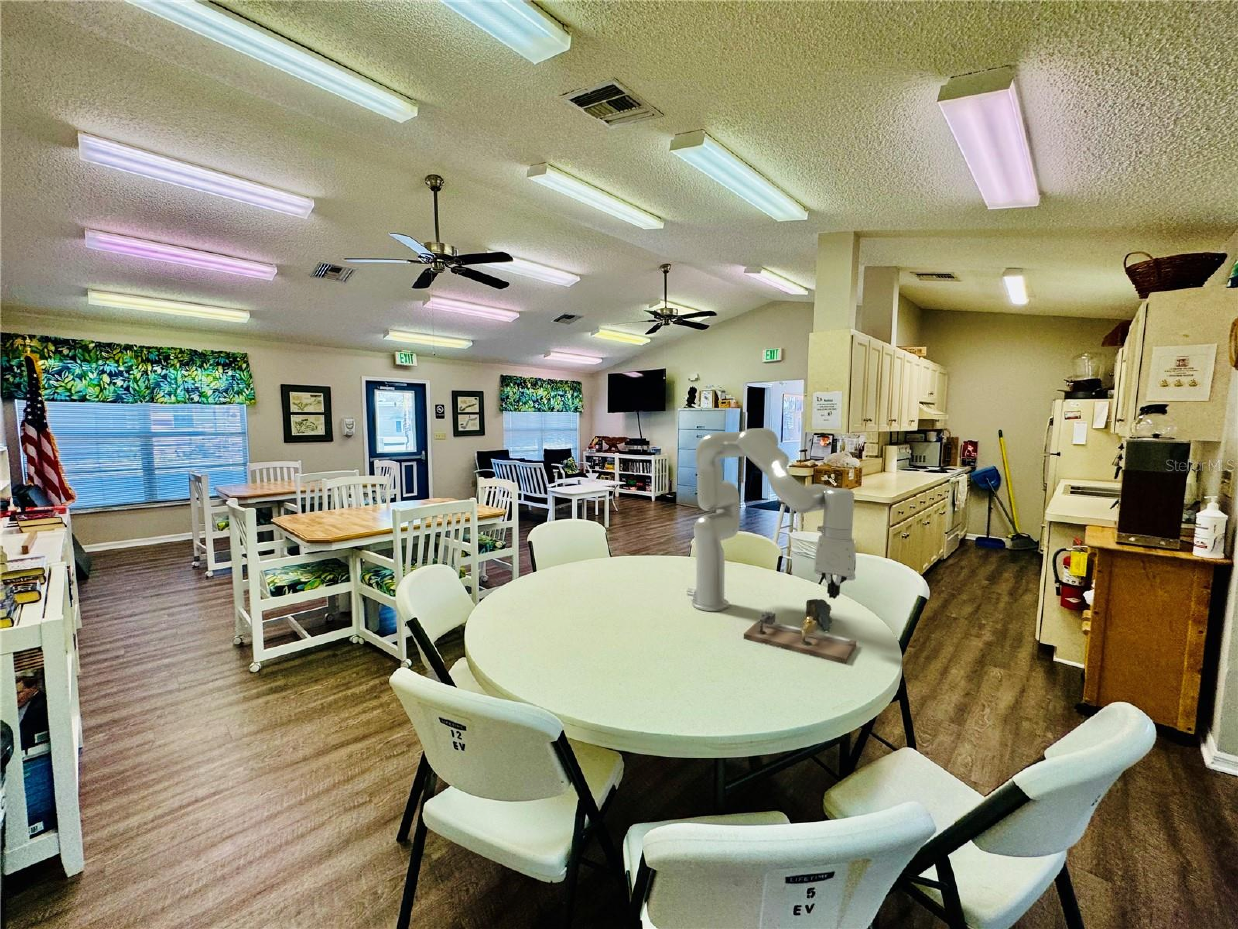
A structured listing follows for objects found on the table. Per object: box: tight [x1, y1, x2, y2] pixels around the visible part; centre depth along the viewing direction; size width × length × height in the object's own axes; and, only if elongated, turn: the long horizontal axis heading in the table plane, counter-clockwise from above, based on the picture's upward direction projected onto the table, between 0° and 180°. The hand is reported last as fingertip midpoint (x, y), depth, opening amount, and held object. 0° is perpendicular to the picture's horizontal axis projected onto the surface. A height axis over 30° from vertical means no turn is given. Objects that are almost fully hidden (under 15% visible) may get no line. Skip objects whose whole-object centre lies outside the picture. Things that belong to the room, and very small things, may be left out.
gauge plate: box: [743, 610, 857, 665], centre depth 148 cm, size 28×13×5 cm, turn 54°
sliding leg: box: [801, 616, 818, 641], centre depth 147 cm, size 3×8×5 cm, turn 145°
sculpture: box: [805, 598, 834, 632], centre depth 161 cm, size 13×6×7 cm, turn 174°
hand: (833, 596), depth 144 cm, fingers closed
